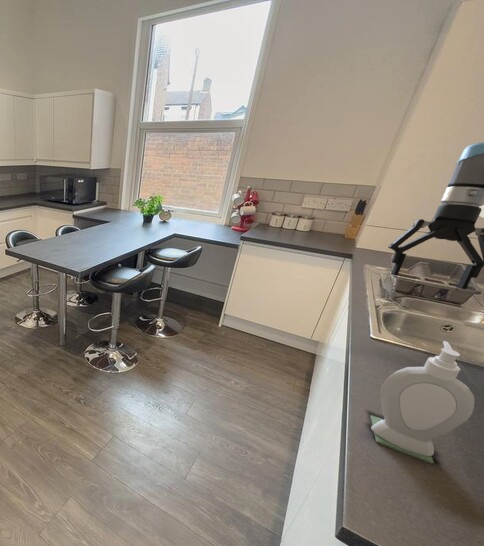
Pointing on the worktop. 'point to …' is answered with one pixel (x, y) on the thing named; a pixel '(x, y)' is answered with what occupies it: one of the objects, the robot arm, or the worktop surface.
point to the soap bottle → (424, 403)
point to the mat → (388, 444)
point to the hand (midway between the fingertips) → (426, 281)
